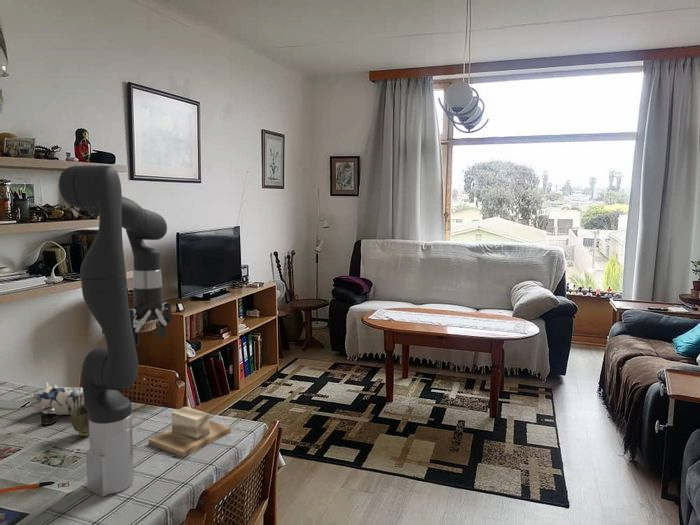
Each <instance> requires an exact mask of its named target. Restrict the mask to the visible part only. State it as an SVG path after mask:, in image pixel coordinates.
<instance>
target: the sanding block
mask: <svg viewBox="0 0 700 525" xmlns="http://www.w3.org/2000/svg"><path fill="white" fill-rule="evenodd" d="M210 417H211V416H210V413H209V412H205V411H202V410H198V409H194V408H191V407H188V406H183V407H181V408H177V409H176V410H174V411H171V429H172V432H173V433H176V434H179V435H182V436H185V437H188V438H190V439H193V440H196V441H197V440H199V439H201V438H203V437H205V436H207V435H209V434H210V421H211V420H210V419H211V418H210Z"/></svg>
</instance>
